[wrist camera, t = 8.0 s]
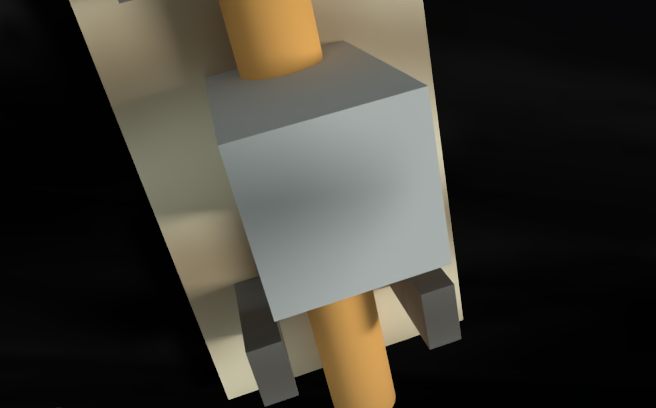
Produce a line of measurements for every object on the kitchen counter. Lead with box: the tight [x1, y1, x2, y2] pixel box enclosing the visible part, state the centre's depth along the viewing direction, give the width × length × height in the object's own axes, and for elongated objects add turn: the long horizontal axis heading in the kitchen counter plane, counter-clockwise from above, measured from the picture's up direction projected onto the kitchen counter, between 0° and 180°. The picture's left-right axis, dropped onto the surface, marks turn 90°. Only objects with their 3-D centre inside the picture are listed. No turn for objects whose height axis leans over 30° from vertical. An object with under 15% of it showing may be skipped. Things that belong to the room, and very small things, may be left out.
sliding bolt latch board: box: [69, 0, 463, 406], centre depth 14 cm, size 22×9×4 cm, turn 13°
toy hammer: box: [204, 0, 452, 408], centre depth 13 cm, size 21×4×6 cm, turn 13°
